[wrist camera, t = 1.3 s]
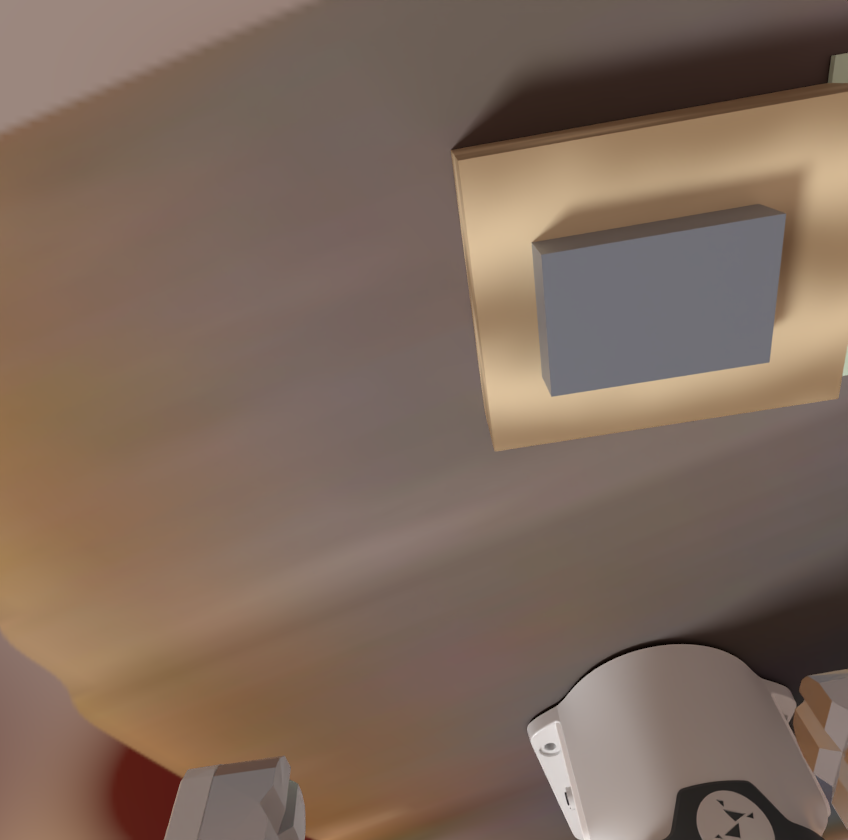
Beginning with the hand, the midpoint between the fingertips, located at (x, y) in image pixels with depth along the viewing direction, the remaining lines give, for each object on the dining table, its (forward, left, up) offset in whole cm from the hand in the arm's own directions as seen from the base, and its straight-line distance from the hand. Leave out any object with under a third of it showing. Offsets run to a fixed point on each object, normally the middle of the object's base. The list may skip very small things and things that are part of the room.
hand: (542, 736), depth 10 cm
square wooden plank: (0, -9, -23) cm, 25 cm away
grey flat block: (0, -8, -19) cm, 21 cm away
